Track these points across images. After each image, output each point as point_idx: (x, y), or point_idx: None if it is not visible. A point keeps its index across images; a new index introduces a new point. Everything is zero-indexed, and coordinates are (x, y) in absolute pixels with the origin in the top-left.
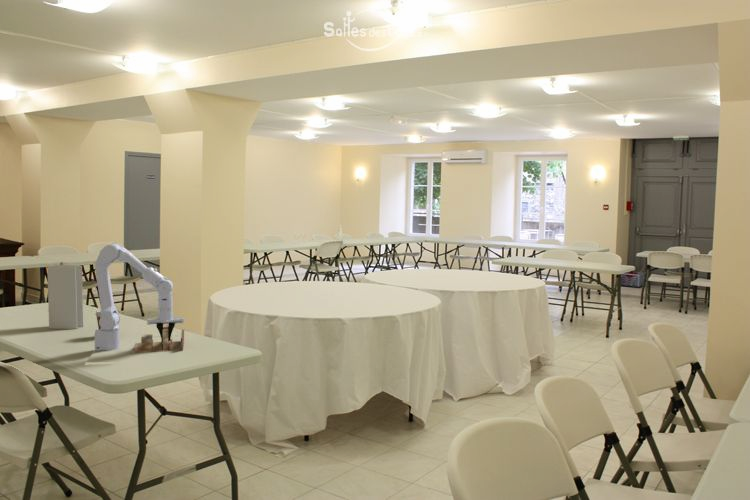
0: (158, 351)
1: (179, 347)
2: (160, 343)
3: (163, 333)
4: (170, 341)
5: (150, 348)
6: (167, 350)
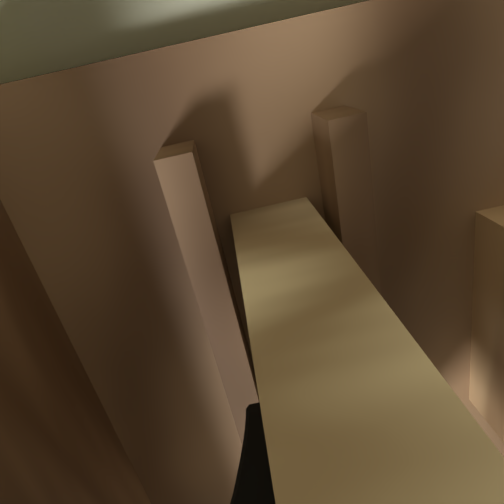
0: (349, 30)
1: (87, 314)
2: None
3: (410, 378)
4: None
5: (497, 210)
6: (208, 114)
